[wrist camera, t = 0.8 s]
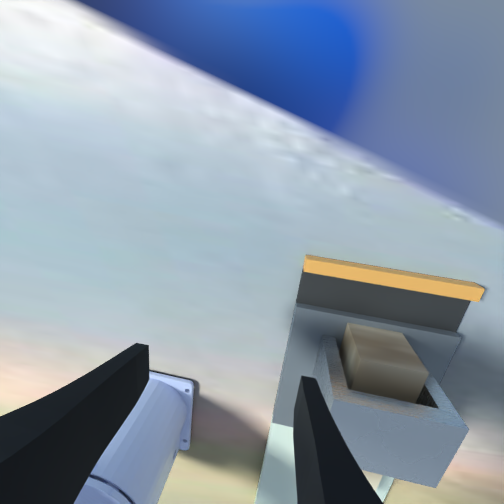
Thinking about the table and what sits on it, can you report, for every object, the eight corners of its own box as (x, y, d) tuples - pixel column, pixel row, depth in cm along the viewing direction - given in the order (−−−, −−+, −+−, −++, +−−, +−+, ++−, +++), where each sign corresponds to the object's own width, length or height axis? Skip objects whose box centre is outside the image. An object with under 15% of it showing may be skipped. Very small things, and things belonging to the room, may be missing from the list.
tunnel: (397, 402, 21) (435, 488, 15) (309, 383, 22) (315, 458, 16) (417, 353, 19) (469, 429, 14) (322, 334, 20) (333, 399, 14)
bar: (348, 472, 24) (359, 527, 20) (306, 461, 25) (309, 514, 21) (402, 332, 19) (428, 373, 15) (347, 322, 19) (360, 359, 16)
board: (354, 545, 29) (356, 557, 28) (251, 516, 30) (250, 527, 29) (474, 282, 18) (485, 289, 17) (305, 254, 19) (306, 259, 18)
